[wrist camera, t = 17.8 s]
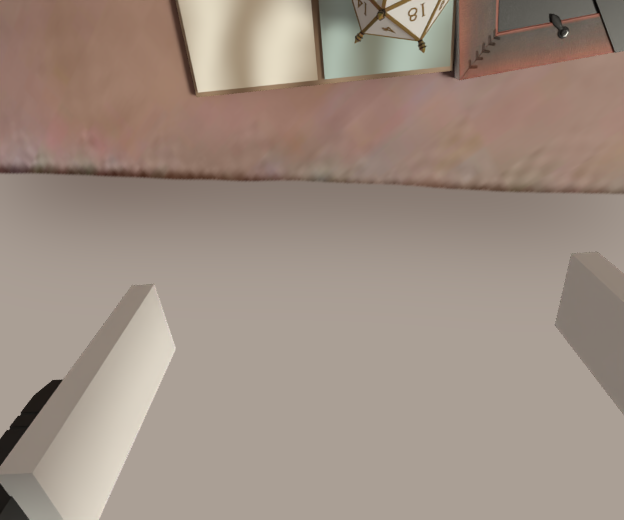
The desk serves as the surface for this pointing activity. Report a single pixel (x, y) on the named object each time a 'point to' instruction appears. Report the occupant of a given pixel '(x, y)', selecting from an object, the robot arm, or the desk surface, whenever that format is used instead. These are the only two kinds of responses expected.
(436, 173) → the desk surface
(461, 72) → the picture frame
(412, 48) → the board
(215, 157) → the desk surface
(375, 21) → the game die
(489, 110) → the desk surface
